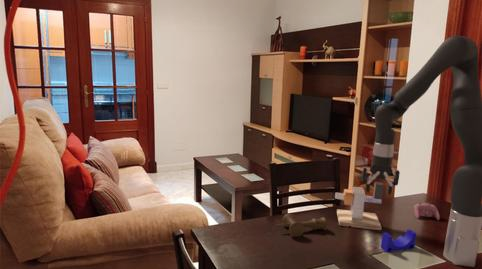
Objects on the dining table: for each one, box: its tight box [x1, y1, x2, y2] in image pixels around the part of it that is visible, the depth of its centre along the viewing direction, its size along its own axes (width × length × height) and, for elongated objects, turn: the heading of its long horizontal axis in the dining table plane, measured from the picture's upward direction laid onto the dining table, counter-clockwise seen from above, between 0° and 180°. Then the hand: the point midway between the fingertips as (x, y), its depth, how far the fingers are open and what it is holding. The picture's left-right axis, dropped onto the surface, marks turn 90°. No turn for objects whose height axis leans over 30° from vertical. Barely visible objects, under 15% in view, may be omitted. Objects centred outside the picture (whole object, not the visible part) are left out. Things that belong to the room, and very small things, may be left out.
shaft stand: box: [336, 186, 383, 231], centre depth 144 cm, size 13×16×14 cm
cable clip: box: [380, 229, 418, 253], centre depth 125 cm, size 12×4×6 cm, turn 107°
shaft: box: [334, 181, 385, 204], centre depth 143 cm, size 3×18×8 cm, turn 80°
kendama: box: [276, 213, 328, 238], centre depth 134 cm, size 6×10×20 cm
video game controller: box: [413, 202, 441, 221], centre depth 152 cm, size 10×5×7 cm, turn 85°
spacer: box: [342, 188, 353, 206], centre depth 144 cm, size 5×3×5 cm, turn 170°
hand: (377, 193), depth 142 cm, fingers open, 7 cm apart
